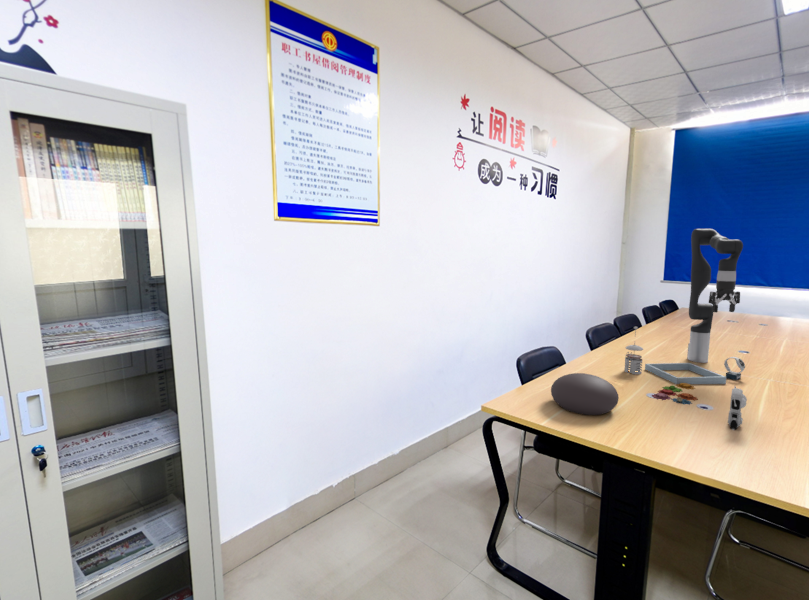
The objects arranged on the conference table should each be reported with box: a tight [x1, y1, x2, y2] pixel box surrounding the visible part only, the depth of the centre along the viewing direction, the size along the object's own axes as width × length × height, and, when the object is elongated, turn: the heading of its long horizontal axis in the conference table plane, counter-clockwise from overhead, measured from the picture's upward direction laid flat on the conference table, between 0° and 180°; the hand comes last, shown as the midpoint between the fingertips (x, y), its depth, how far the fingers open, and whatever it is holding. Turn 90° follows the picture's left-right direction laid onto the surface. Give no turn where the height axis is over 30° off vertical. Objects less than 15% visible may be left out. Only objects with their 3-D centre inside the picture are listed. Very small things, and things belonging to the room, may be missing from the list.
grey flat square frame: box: [644, 362, 727, 385], centre depth 207 cm, size 24×24×4 cm
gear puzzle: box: [651, 383, 698, 406], centre depth 183 cm, size 31×16×4 cm, turn 133°
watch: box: [723, 356, 746, 381], centre depth 204 cm, size 6×8×11 cm
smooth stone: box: [550, 372, 619, 416], centre depth 166 cm, size 25×25×15 cm
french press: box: [623, 326, 644, 375], centre depth 212 cm, size 10×12×25 cm
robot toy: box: [727, 385, 748, 431], centre depth 148 cm, size 12×4×15 cm, turn 139°
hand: (723, 312), depth 209 cm, fingers open, 8 cm apart
